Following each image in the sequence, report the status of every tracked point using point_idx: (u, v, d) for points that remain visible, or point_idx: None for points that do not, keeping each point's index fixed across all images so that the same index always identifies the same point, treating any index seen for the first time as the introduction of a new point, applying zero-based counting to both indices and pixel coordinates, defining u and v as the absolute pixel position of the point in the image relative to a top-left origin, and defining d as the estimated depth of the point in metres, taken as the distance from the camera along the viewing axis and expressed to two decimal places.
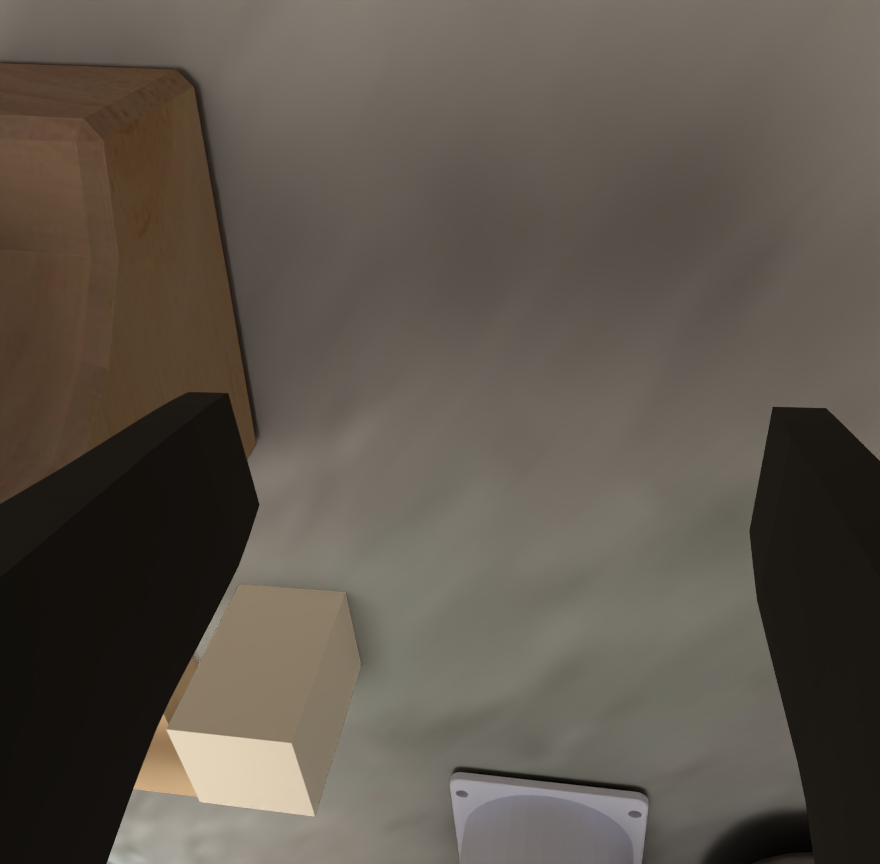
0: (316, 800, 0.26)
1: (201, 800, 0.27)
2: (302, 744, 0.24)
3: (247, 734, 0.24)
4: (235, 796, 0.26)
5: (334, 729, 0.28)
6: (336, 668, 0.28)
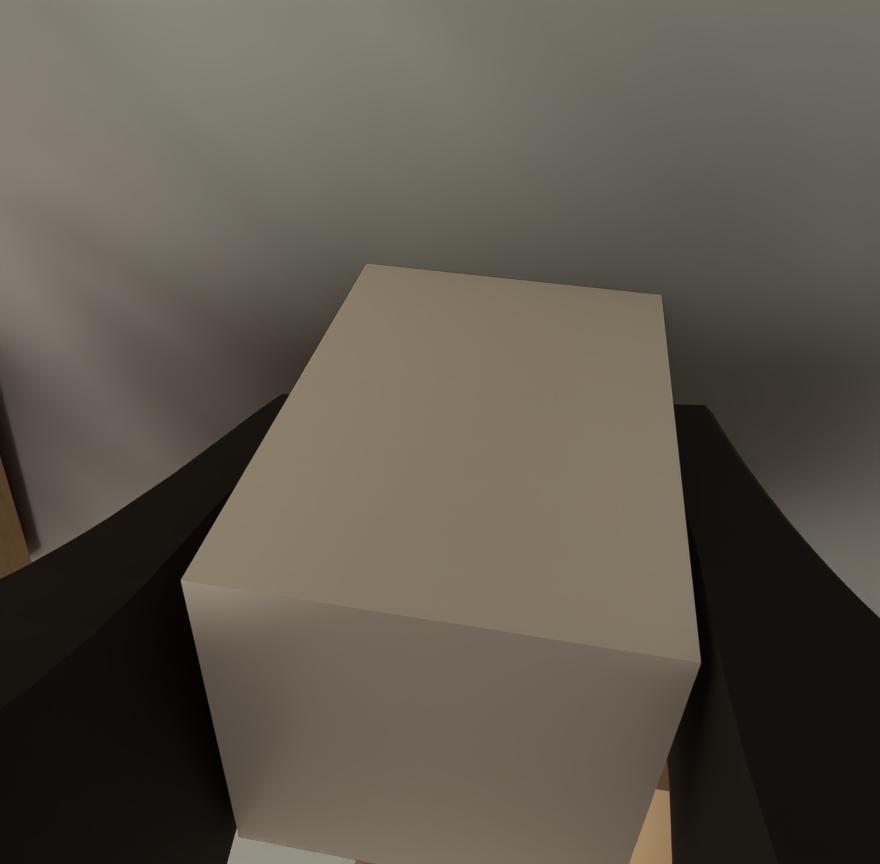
0: (651, 619, 0.06)
1: None
2: (304, 549, 0.07)
3: (211, 679, 0.07)
4: (571, 830, 0.07)
5: (601, 433, 0.08)
6: (457, 352, 0.09)
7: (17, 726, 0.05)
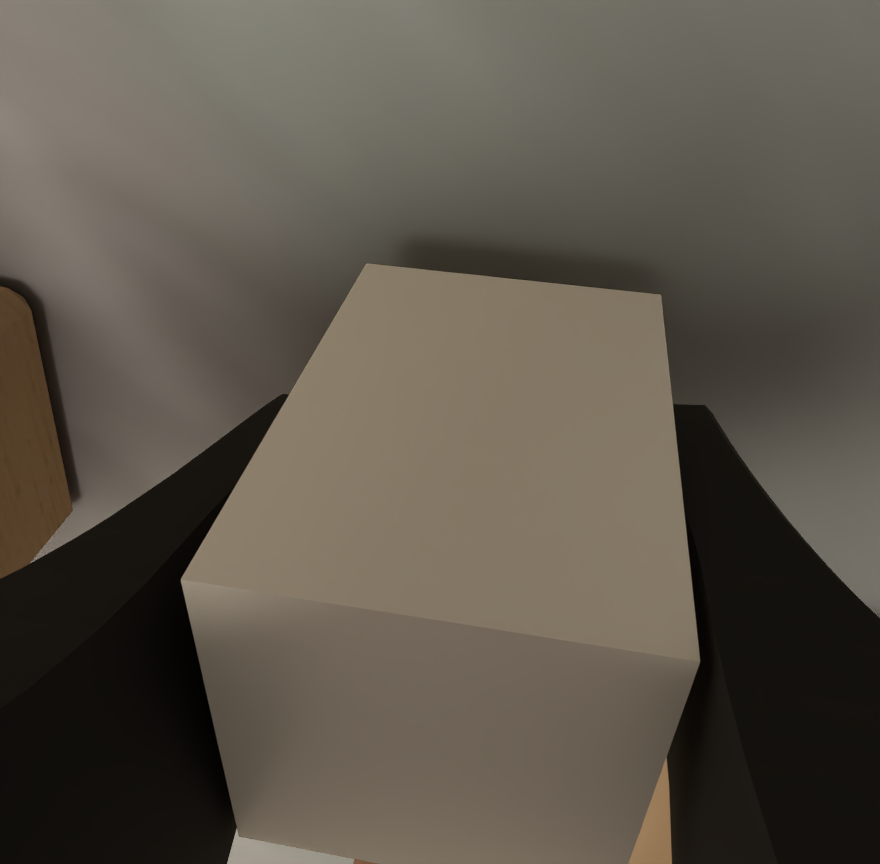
0: (649, 618, 0.06)
1: None
2: (301, 549, 0.07)
3: (211, 679, 0.07)
4: (571, 828, 0.07)
5: (601, 433, 0.08)
6: (456, 352, 0.09)
7: (16, 726, 0.05)
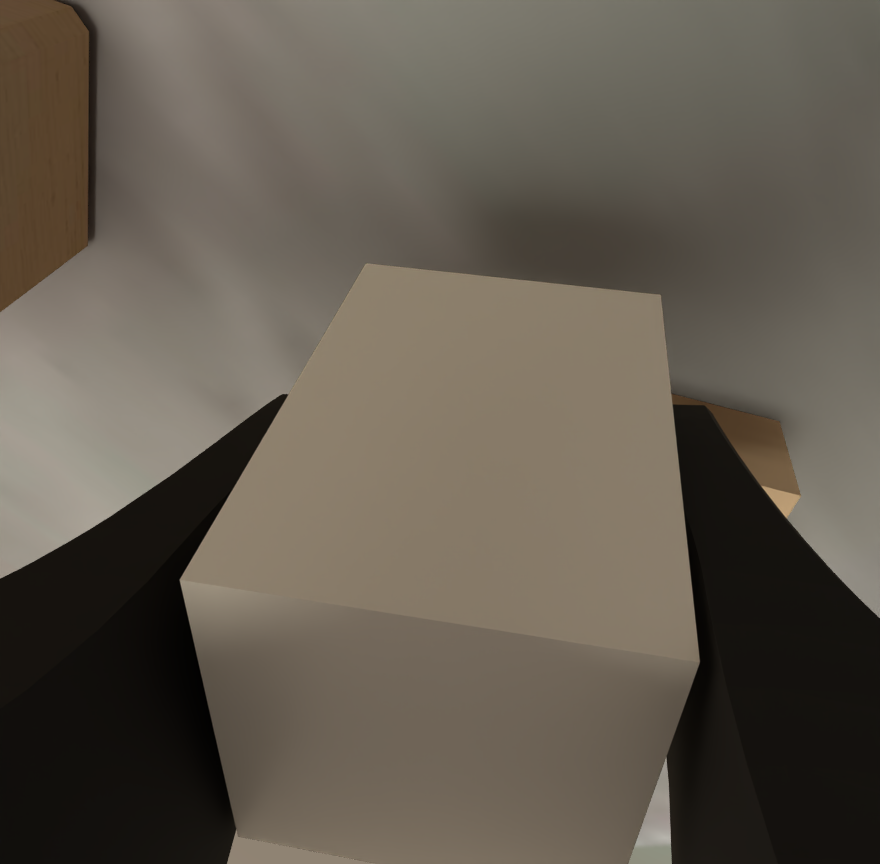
0: (650, 618, 0.06)
1: None
2: (302, 549, 0.07)
3: (211, 679, 0.07)
4: (570, 829, 0.07)
5: (600, 433, 0.08)
6: (455, 352, 0.09)
7: (17, 726, 0.05)
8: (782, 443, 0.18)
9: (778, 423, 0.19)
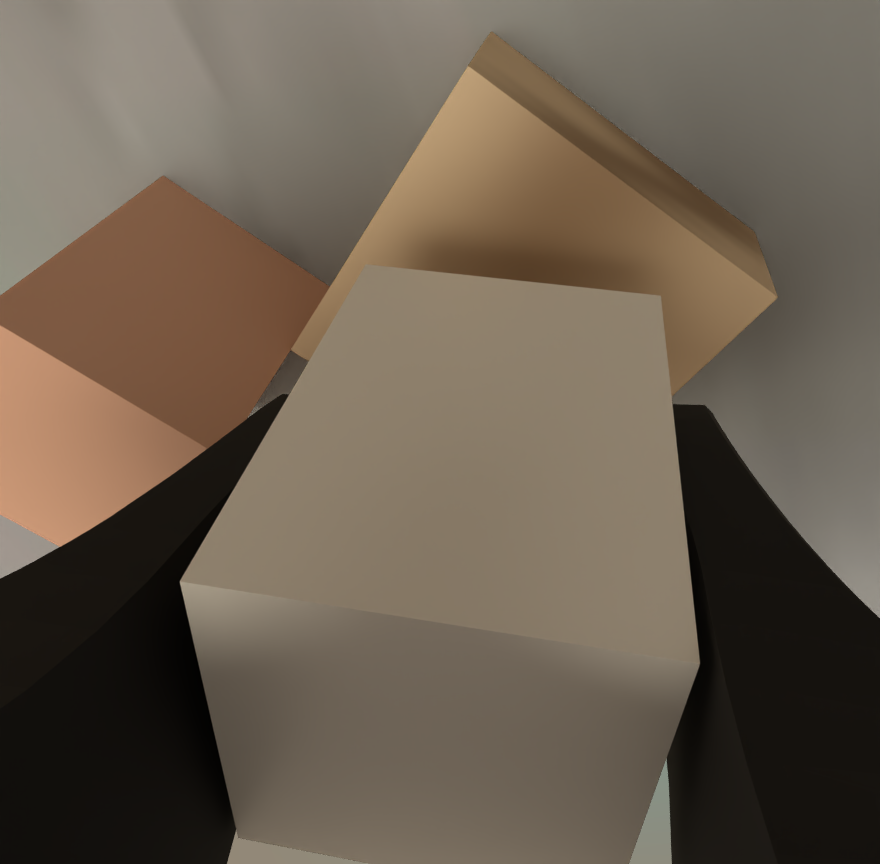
0: (650, 621, 0.06)
1: None
2: (301, 550, 0.07)
3: (211, 680, 0.07)
4: (571, 831, 0.07)
5: (601, 434, 0.08)
6: (456, 352, 0.09)
7: (17, 726, 0.05)
8: (757, 252, 0.14)
9: (753, 233, 0.15)
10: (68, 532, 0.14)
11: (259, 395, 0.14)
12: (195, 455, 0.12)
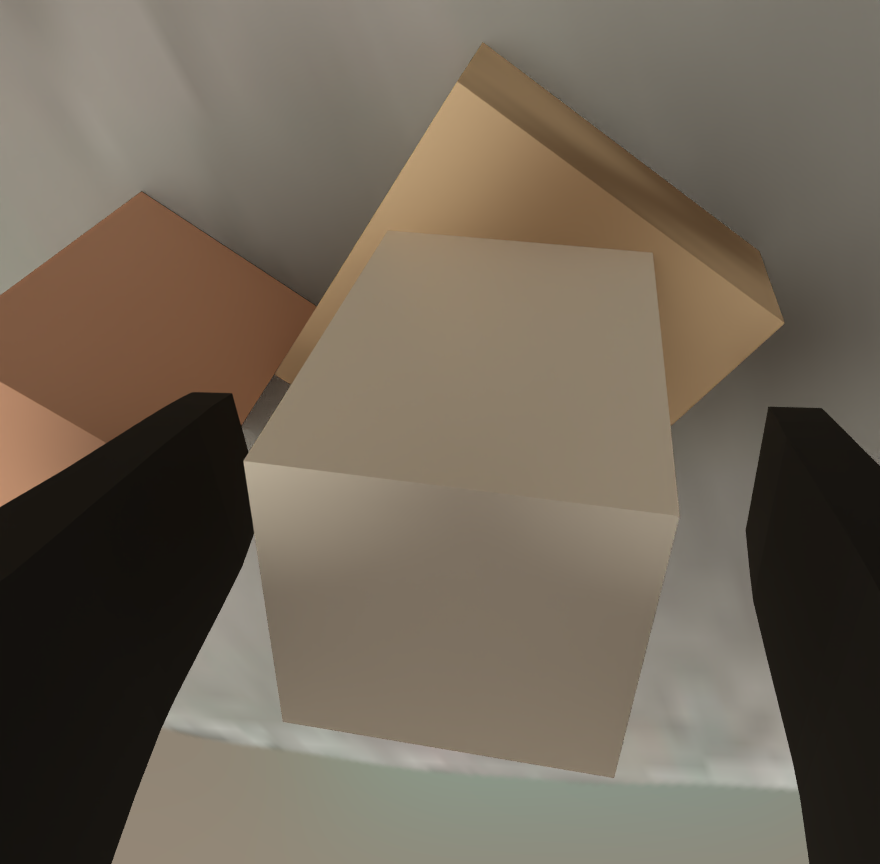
0: (639, 486, 0.07)
1: (606, 772, 0.09)
2: (344, 439, 0.08)
3: (264, 562, 0.08)
4: (575, 693, 0.09)
5: (598, 357, 0.09)
6: (470, 298, 0.11)
7: None
8: (761, 272, 0.14)
9: (758, 251, 0.14)
10: None
11: None
12: None
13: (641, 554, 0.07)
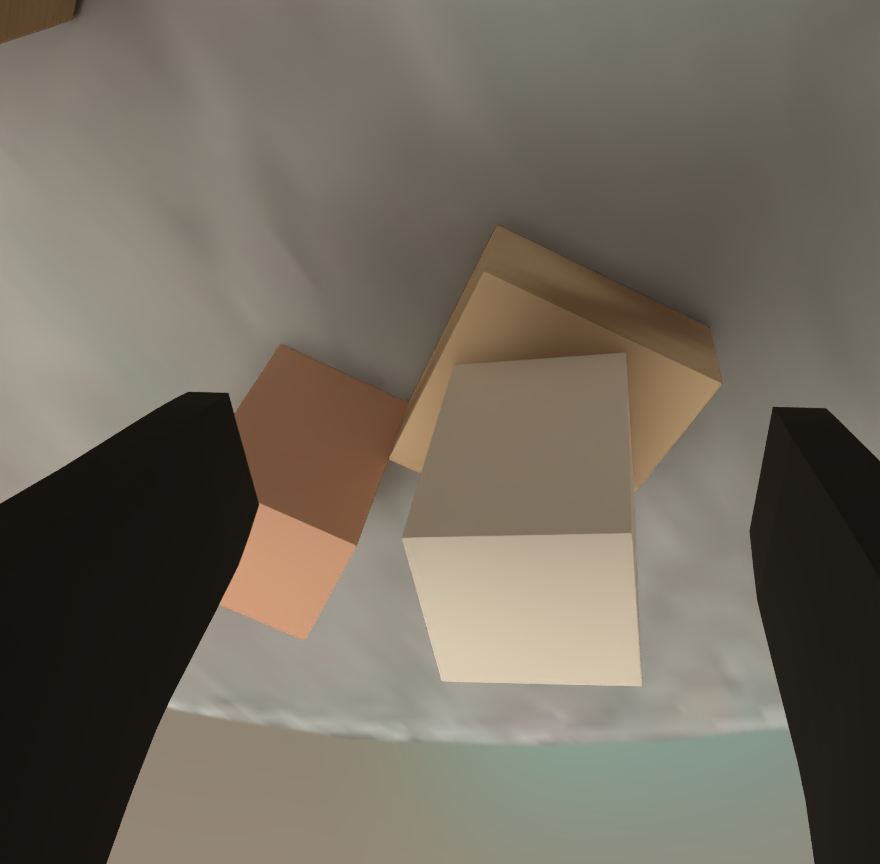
0: (610, 519, 0.14)
1: (636, 683, 0.16)
2: (452, 517, 0.15)
3: (418, 589, 0.15)
4: (605, 637, 0.15)
5: (589, 440, 0.16)
6: (511, 409, 0.17)
7: None
8: (711, 344, 0.20)
9: (708, 328, 0.20)
10: (255, 607, 0.20)
11: (373, 497, 0.20)
12: (339, 546, 0.19)
13: (618, 555, 0.14)
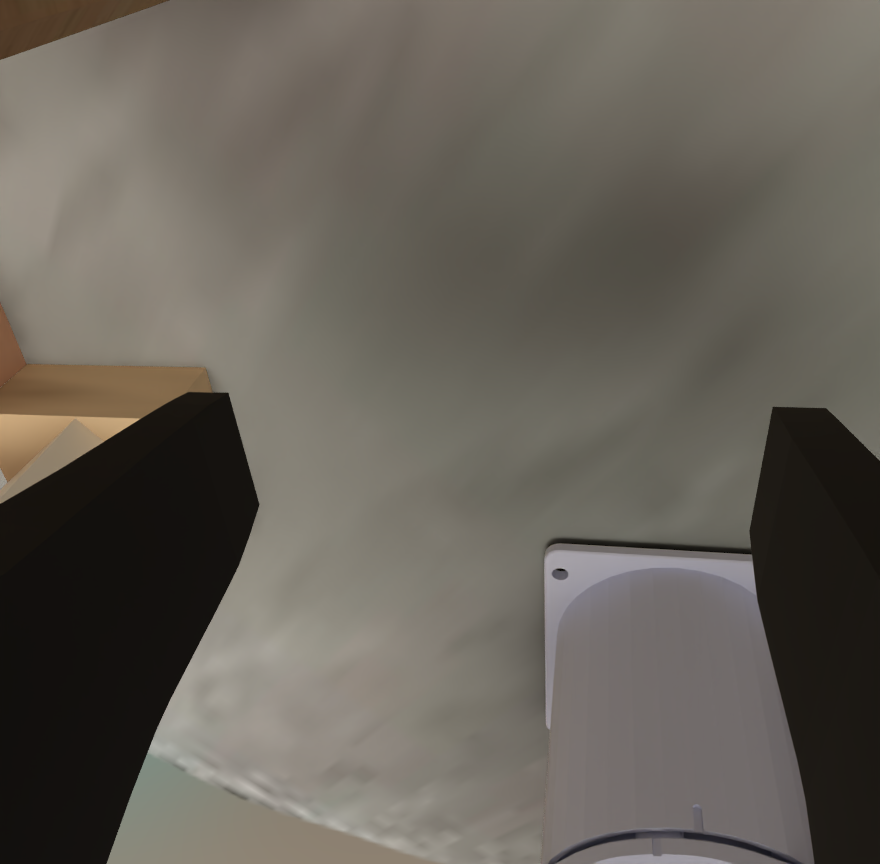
0: None
1: None
2: None
3: None
4: None
5: None
6: None
7: None
8: None
9: None
10: None
11: None
12: None
13: None
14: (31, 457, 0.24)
